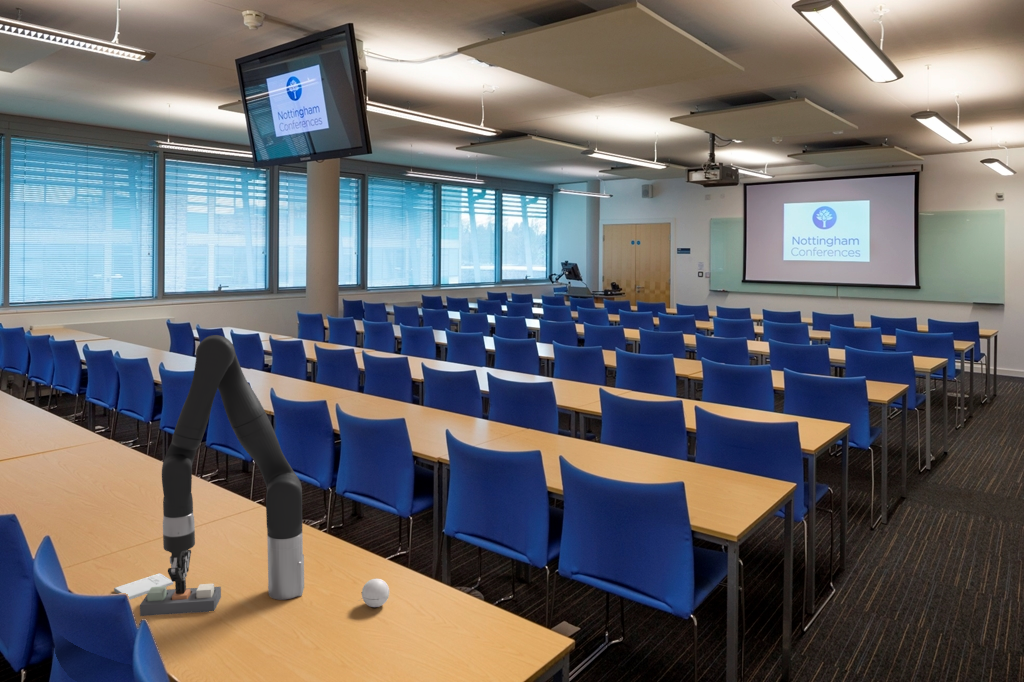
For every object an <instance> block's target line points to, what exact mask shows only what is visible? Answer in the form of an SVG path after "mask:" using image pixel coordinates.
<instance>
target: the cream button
mask: <svg viewBox="0 0 1024 682" xmlns="http://www.w3.org/2000/svg"><path fill="white" fill-rule="evenodd" d="M214 587H215V583H199V585H198V586H197V587H196V588H197V590H196V598H212V597H213V595H214Z"/></svg>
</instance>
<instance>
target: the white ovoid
mask: <svg viewBox="0 0 1024 682" xmlns="http://www.w3.org/2000/svg"><path fill="white" fill-rule="evenodd" d="M389 597H390V587H389V585H388V584H387V582H386V581H385V580H383V579H381V578H372V579H369V580H368V581H367V582H366V583H365V584H364V585H363V587H362V590H361V598H360V599H359V601H361V600H362V601H363V602H364V604H365V605H367V606H368V607H370V608H379V607H381V606H383V605H384V604H386V603H387V601H388V599H389Z"/></svg>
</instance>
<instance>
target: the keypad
mask: <svg viewBox="0 0 1024 682" xmlns="http://www.w3.org/2000/svg"><path fill="white" fill-rule="evenodd" d="M197 588H198V587H191V588H190V587H189V588H187V587H186V589H190V591H191V595H190V596H189V598H188V599H180V600H172V596H173V594H174V592H175V591H176V590H175V588H172V589H170V588H169V589H166V591H167V596H166V597H165V599H164V600H163V601H148V598H147V595H145V597H144V598H143V599H142V601H141V602H140V604H139V616H140V617H147V616H163V615H177V614H178V615H181V614H194V613H195V614H196V613H197V614H199V613H210V612H209V611H214V610H215V611H216V609H217V606H218V604H219V602H220V601H221V598H222V586H214V595H213V597H212V598H196V590H197ZM215 611H214V612H215Z"/></svg>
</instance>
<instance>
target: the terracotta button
mask: <svg viewBox="0 0 1024 682" xmlns="http://www.w3.org/2000/svg"><path fill="white" fill-rule="evenodd" d="M190 595H191V591H190V589H186V591H185V592H184V594H176V591H175V592H174V594H173V596H172V600H180V599H188V598H189V596H190Z"/></svg>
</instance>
